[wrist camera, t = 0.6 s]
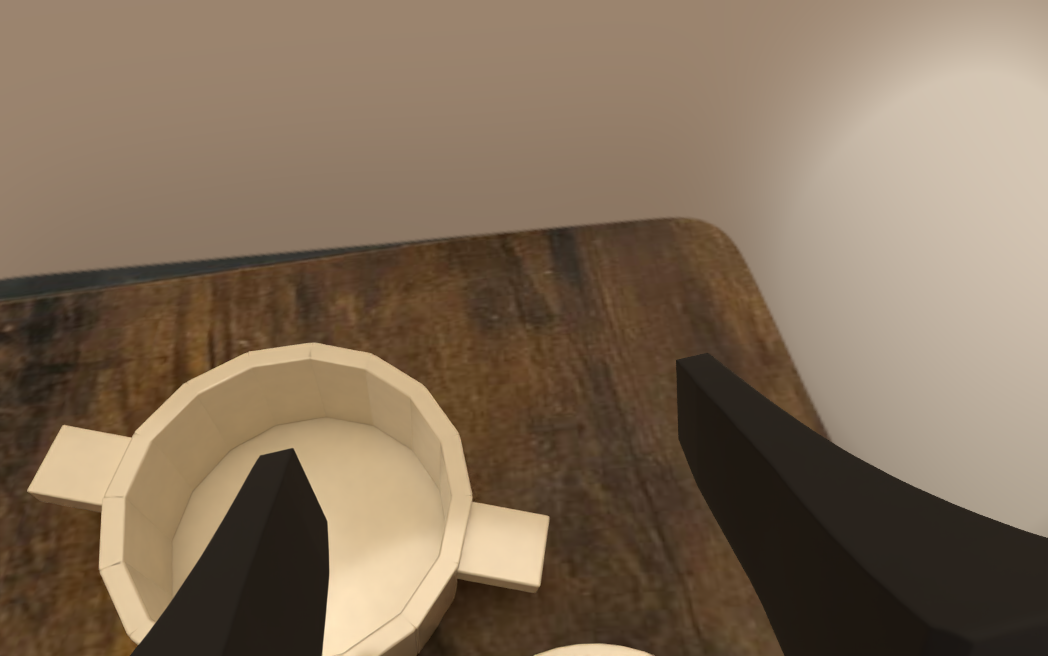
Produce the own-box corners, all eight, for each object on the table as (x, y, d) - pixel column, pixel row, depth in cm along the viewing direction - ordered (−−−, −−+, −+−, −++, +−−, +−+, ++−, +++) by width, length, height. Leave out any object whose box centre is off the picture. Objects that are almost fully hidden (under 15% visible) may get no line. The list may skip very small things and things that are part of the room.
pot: (504, 751, 25) (521, 744, 21) (22, 663, 25) (-70, 635, 20) (548, 448, 31) (569, 390, 27) (161, 375, 31) (114, 304, 27)
